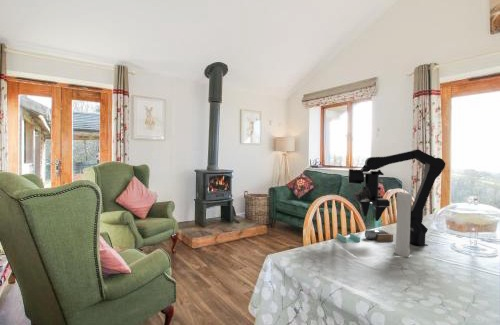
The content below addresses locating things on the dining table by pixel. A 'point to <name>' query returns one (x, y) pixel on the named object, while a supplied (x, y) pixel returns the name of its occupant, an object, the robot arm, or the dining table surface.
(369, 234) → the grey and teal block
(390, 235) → the brown block
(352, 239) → the cradle
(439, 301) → the dining table surface
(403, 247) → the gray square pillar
